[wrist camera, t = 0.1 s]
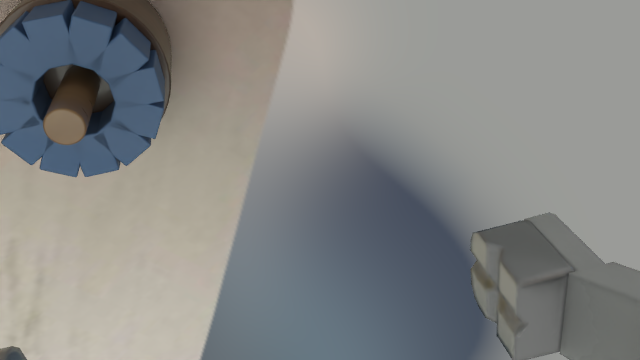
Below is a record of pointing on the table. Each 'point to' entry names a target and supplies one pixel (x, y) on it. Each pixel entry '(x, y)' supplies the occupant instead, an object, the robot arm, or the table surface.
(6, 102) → the ring
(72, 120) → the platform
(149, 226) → the table surface
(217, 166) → the table surface
